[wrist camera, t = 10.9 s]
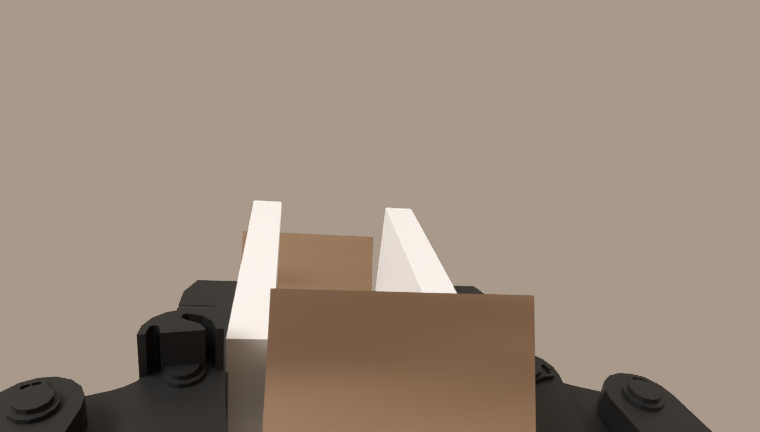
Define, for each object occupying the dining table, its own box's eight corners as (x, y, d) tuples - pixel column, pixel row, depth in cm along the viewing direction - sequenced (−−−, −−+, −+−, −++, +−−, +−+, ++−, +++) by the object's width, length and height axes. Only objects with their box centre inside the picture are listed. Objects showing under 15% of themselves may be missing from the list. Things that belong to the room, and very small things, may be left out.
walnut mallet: (699, 564, 6) (673, 67, 7) (27, 614, 5) (96, 0, 6) (352, 336, 35) (355, 247, 36) (244, 335, 34) (250, 242, 35)
